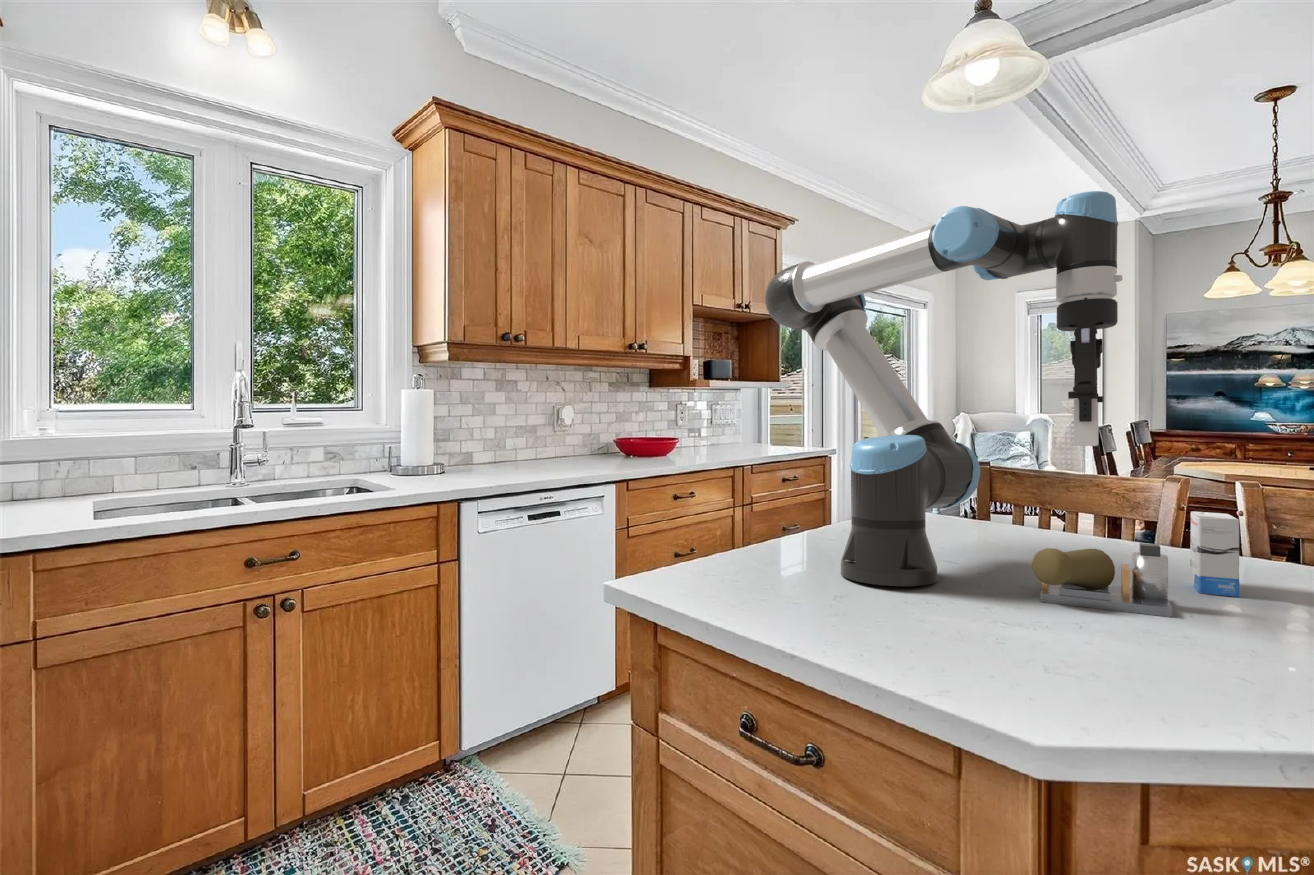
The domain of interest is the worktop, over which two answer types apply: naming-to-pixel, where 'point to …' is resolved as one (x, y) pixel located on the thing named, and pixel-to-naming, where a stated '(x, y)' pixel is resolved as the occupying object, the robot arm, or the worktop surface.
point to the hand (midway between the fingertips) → (1086, 445)
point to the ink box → (1214, 553)
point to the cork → (1074, 568)
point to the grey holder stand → (1123, 587)
